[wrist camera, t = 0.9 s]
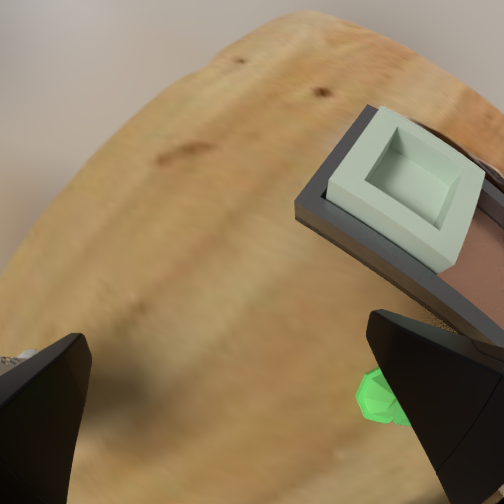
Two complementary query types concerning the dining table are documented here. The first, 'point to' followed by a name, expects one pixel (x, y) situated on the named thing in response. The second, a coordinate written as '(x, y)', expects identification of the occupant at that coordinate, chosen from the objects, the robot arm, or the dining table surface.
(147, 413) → the dining table surface
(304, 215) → the bay
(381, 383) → the game piece
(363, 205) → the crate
